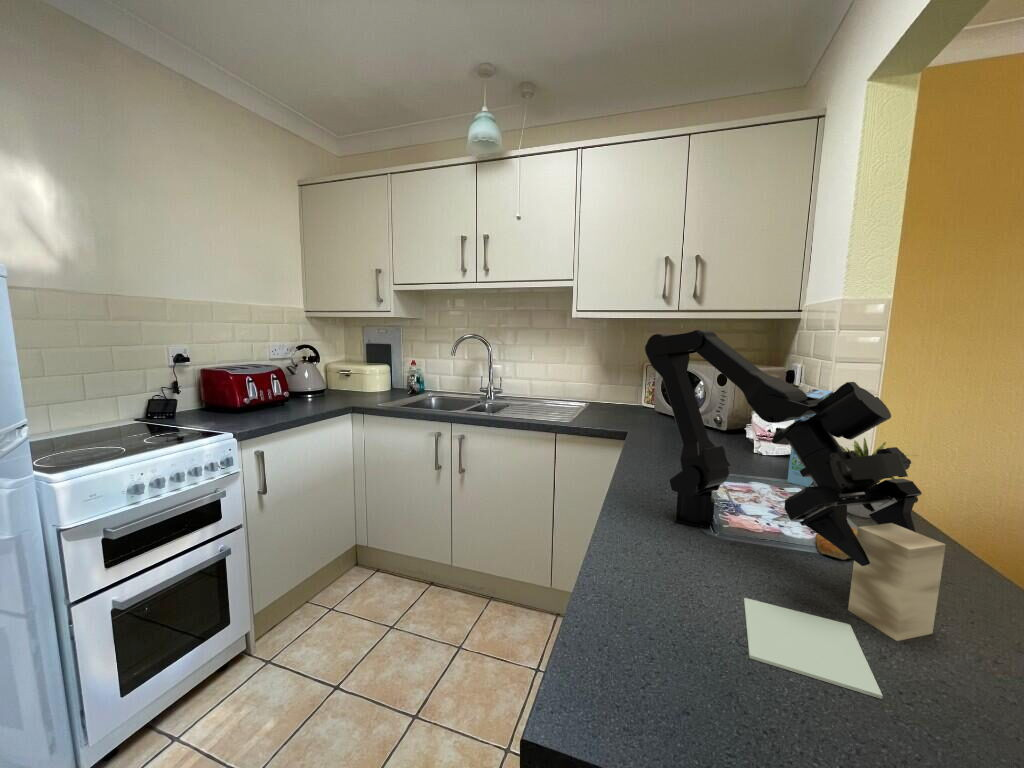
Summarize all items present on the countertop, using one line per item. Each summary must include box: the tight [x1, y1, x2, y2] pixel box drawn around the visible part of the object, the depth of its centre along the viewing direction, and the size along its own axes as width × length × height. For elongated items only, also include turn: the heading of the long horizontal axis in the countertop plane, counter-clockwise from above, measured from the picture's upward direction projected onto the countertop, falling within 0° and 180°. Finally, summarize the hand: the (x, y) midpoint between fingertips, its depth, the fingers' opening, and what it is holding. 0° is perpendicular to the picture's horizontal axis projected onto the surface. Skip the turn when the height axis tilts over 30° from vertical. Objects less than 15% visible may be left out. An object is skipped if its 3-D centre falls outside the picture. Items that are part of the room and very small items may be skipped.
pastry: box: [815, 525, 858, 561], centre depth 74 cm, size 9×7×4 cm
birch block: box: [847, 523, 947, 642], centre depth 55 cm, size 6×6×12 cm
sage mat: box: [743, 597, 883, 700], centre depth 51 cm, size 12×12×1 cm
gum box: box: [786, 388, 834, 488], centre depth 112 cm, size 20×5×23 cm, turn 134°
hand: (893, 560), depth 55 cm, fingers open, 9 cm apart
